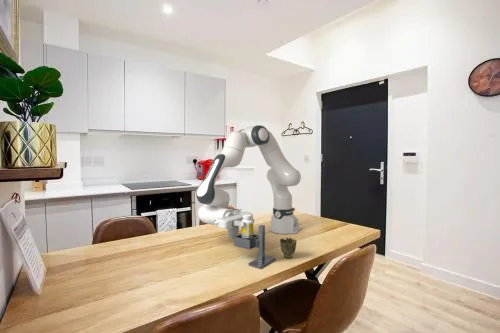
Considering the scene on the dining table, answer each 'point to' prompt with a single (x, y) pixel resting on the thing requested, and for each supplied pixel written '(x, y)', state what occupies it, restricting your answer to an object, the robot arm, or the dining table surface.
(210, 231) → the dining table surface
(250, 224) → the supplement bottle
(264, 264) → the cup bracket
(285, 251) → the cup
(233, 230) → the house plant
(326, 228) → the dining table surface
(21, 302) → the dining table surface
